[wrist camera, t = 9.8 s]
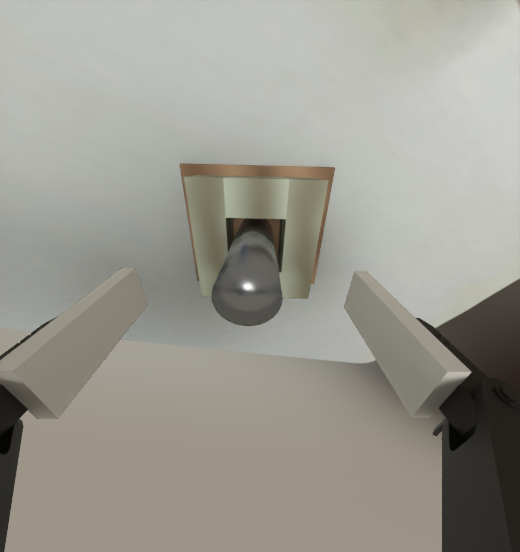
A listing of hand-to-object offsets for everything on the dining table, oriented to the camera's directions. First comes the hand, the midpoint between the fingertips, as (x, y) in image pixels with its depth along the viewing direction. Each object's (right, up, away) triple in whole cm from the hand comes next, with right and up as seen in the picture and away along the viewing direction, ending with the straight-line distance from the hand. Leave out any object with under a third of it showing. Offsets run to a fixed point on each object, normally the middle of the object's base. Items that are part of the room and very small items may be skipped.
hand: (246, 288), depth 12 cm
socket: (0, +6, +12) cm, 14 cm away
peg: (0, +6, +11) cm, 13 cm away
